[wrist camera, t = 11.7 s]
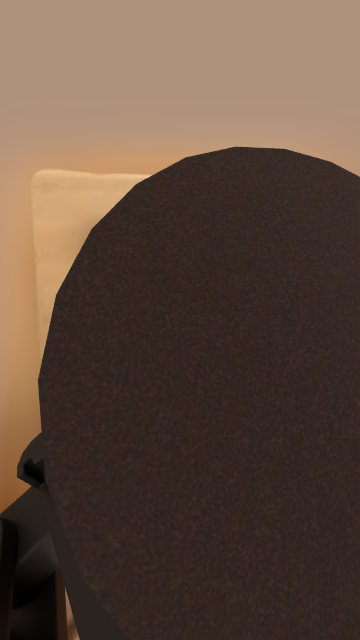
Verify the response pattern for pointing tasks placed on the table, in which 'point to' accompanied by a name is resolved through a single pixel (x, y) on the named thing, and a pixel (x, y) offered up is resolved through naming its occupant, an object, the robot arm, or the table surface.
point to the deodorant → (214, 401)
